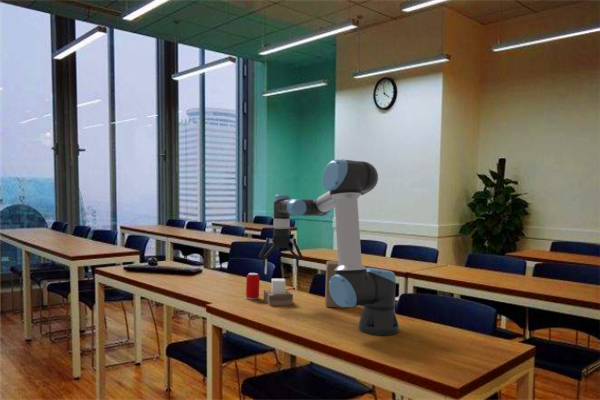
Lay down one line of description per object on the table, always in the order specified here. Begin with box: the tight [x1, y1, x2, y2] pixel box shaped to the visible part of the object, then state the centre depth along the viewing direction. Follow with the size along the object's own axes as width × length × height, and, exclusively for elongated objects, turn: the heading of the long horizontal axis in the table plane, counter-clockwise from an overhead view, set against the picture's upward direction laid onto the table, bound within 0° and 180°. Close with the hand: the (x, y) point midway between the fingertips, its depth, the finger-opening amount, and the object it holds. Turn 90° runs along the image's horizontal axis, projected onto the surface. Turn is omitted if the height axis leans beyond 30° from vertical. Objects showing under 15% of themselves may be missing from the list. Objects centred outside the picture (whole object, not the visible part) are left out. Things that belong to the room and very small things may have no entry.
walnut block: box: [263, 289, 294, 307], centre depth 214 cm, size 11×11×5 cm
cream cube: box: [270, 278, 287, 294], centre depth 213 cm, size 6×6×6 cm
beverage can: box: [245, 272, 260, 301], centre depth 220 cm, size 6×6×12 cm
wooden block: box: [324, 260, 348, 309], centre depth 211 cm, size 10×10×20 cm
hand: (280, 273), depth 212 cm, fingers open, 13 cm apart
